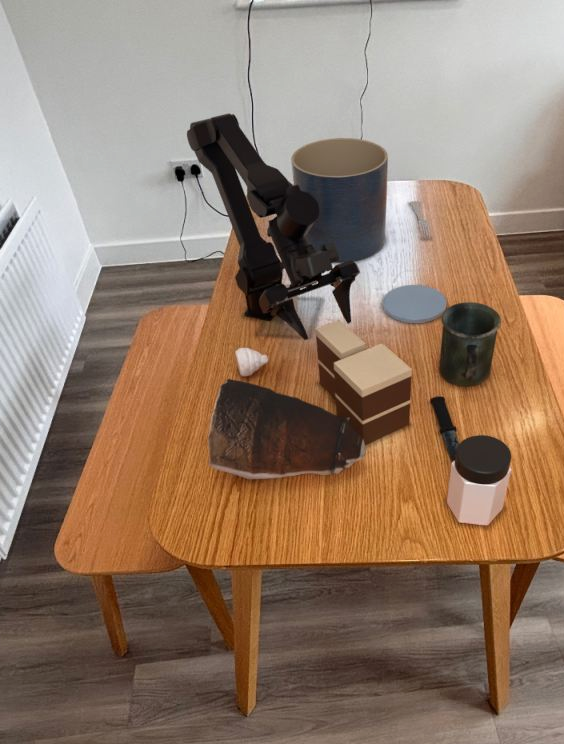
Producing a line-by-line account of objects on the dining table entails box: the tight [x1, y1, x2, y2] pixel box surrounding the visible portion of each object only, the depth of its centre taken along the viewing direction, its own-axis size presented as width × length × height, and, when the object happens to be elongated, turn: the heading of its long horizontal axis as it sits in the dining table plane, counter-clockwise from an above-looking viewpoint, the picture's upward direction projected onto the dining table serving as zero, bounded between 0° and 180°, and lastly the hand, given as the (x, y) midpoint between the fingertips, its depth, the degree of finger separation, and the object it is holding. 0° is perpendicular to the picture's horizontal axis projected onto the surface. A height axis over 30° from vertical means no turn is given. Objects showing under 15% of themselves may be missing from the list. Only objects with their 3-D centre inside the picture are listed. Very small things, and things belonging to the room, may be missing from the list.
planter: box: [290, 137, 389, 263], centre depth 154 cm, size 22×22×20 cm
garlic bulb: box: [234, 347, 269, 378], centre depth 126 cm, size 6×6×5 cm
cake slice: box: [315, 319, 366, 401], centre depth 119 cm, size 9×5×12 cm, turn 32°
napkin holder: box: [283, 283, 299, 325], centre depth 138 cm, size 3×7×7 cm, turn 172°
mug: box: [438, 301, 502, 388], centre depth 120 cm, size 11×15×12 cm
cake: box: [334, 342, 413, 446], centre depth 113 cm, size 9×10×12 cm
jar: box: [446, 434, 512, 526], centre depth 99 cm, size 9×8×12 cm
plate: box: [382, 284, 448, 324], centre depth 142 cm, size 14×14×1 cm
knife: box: [430, 395, 460, 463], centre depth 113 cm, size 21×1×3 cm
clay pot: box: [206, 378, 367, 480], centre depth 107 cm, size 15×15×25 cm
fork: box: [409, 201, 431, 241], centre depth 168 cm, size 3×21×3 cm, turn 5°
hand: (328, 331), depth 117 cm, fingers open, 9 cm apart
